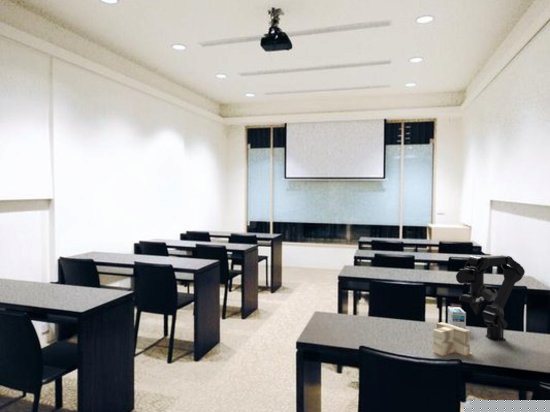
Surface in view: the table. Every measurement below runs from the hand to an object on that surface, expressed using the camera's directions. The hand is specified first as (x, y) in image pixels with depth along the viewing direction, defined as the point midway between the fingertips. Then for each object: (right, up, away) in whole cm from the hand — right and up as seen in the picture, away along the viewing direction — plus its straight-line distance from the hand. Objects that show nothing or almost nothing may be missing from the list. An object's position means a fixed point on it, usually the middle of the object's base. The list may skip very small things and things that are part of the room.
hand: (476, 314), depth 186 cm
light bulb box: (-2, -13, +17) cm, 22 cm away
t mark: (-19, -13, -11) cm, 26 cm away
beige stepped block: (-20, -13, -12) cm, 26 cm away
